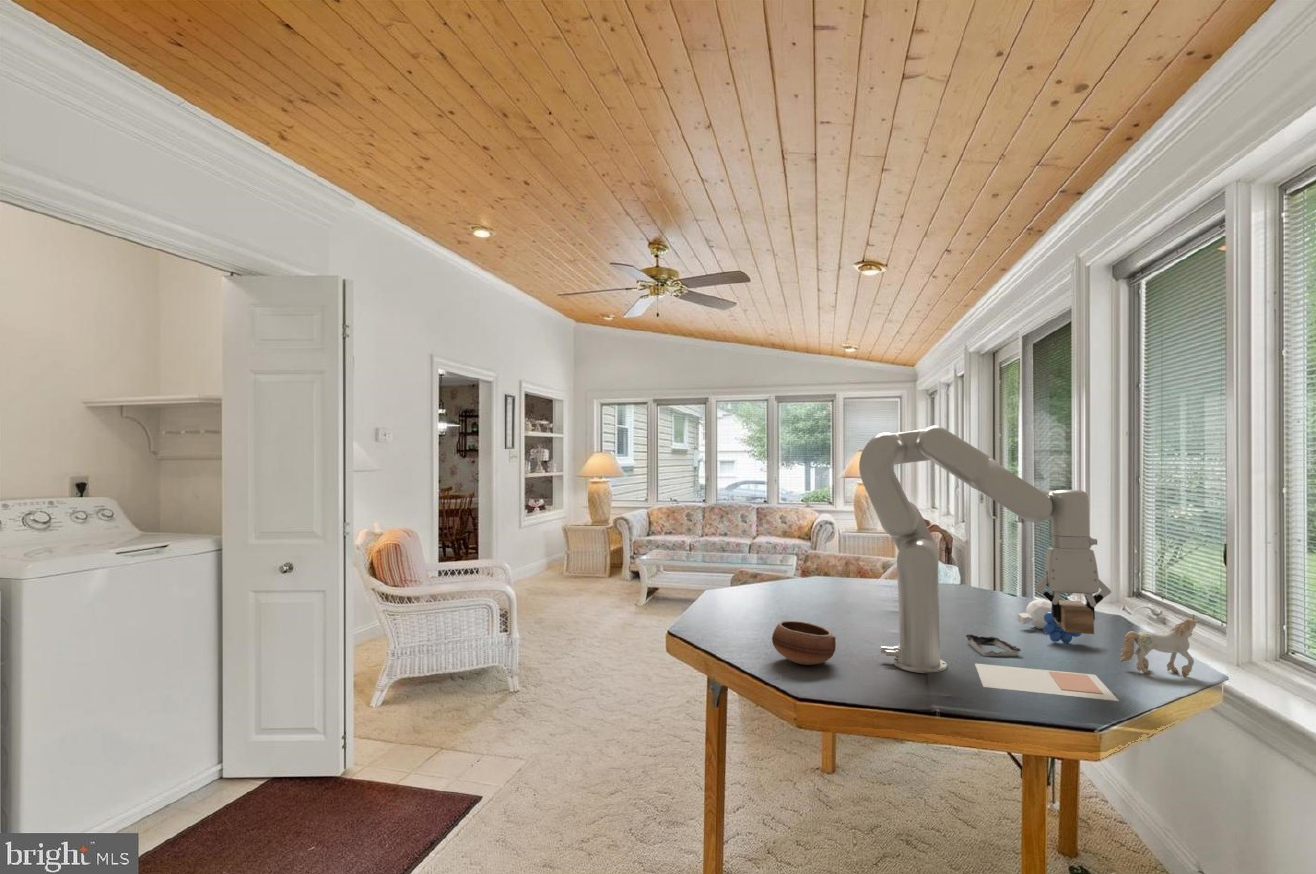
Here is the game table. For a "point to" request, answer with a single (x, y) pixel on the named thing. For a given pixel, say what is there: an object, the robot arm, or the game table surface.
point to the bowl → (803, 642)
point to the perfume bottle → (1035, 613)
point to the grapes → (1057, 630)
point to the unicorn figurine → (1161, 645)
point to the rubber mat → (1044, 681)
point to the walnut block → (1076, 617)
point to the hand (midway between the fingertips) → (1073, 621)
